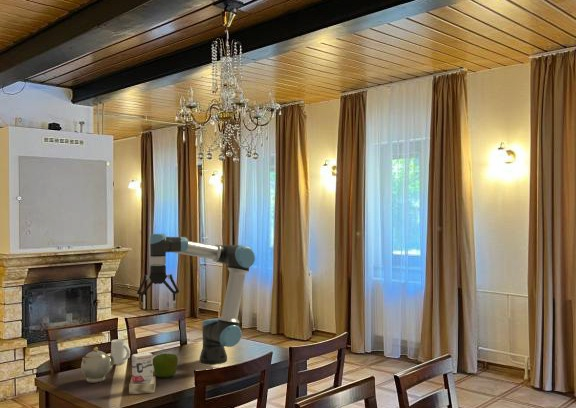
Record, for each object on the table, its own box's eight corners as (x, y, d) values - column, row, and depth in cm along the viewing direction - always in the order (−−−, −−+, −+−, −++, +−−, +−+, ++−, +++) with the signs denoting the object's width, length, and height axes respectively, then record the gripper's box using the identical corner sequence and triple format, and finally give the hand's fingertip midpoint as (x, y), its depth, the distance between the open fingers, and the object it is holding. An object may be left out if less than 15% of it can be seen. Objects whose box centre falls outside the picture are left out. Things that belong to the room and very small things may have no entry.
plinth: (155, 384, 272) (155, 375, 273) (154, 392, 260) (154, 382, 260) (131, 385, 271) (131, 376, 271) (129, 394, 258) (129, 384, 258)
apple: (150, 374, 290) (150, 352, 290) (174, 371, 295) (174, 349, 295) (155, 381, 278) (155, 357, 279) (180, 377, 283) (180, 354, 283)
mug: (124, 365, 308) (124, 343, 308) (107, 363, 314) (107, 341, 314) (135, 362, 315) (134, 340, 316) (118, 360, 321) (118, 338, 321)
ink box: (135, 382, 261) (135, 356, 261) (131, 380, 265) (131, 354, 265) (153, 379, 266) (153, 353, 266) (149, 377, 270) (149, 351, 270)
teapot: (91, 386, 270) (91, 351, 270) (74, 382, 278) (74, 348, 278) (122, 378, 284) (122, 344, 285) (105, 373, 292) (105, 341, 293)
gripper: (183, 263, 289) (184, 305, 289) (132, 265, 285) (133, 307, 284) (183, 264, 282) (184, 308, 281) (131, 266, 278) (131, 310, 277)
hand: (158, 308), depth 283 cm, fingers open, 13 cm apart
